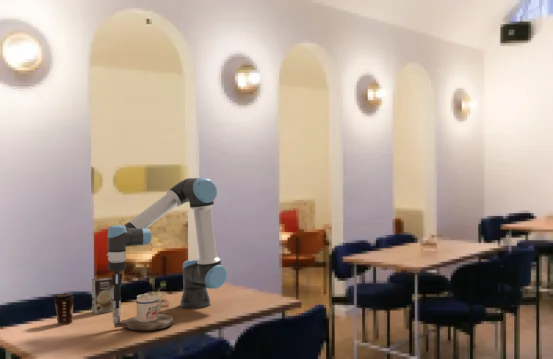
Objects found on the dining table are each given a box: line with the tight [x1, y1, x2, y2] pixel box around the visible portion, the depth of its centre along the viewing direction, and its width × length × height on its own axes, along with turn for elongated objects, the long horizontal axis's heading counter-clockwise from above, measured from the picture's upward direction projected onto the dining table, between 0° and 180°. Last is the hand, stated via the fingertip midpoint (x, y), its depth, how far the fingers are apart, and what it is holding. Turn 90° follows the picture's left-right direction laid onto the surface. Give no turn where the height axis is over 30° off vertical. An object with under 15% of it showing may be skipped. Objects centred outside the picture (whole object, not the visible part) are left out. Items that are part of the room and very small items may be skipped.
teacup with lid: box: [135, 292, 159, 322], centre depth 265 cm, size 12×9×12 cm
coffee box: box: [91, 277, 114, 315], centre depth 295 cm, size 9×6×16 cm
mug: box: [136, 293, 163, 312], centre depth 284 cm, size 8×13×10 cm, turn 137°
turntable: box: [112, 308, 174, 331], centre depth 263 cm, size 24×20×8 cm
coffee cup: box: [53, 292, 75, 326], centre depth 274 cm, size 9×8×13 cm
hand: (117, 315), depth 263 cm, fingers closed
